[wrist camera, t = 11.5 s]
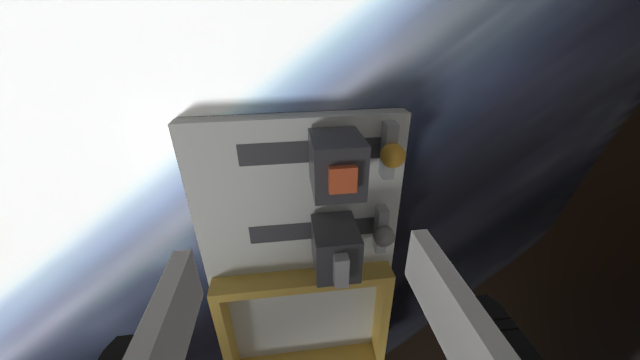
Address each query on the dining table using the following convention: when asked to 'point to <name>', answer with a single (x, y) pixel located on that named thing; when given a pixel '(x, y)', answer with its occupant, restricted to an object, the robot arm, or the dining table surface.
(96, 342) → the dining table surface
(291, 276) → the panel
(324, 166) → the breaker
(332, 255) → the breaker
